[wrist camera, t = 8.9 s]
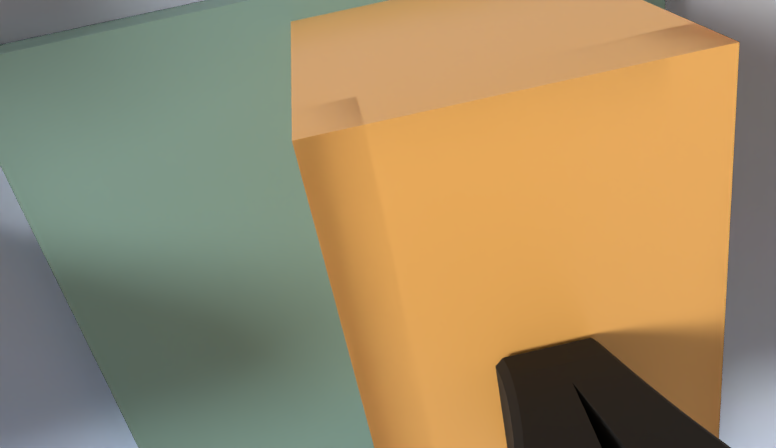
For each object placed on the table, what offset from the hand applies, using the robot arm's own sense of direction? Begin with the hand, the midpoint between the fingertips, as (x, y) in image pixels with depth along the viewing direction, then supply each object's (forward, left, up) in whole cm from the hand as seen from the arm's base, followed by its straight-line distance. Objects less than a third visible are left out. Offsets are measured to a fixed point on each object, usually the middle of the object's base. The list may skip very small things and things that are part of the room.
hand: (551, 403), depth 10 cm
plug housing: (-2, 0, -6) cm, 6 cm away
